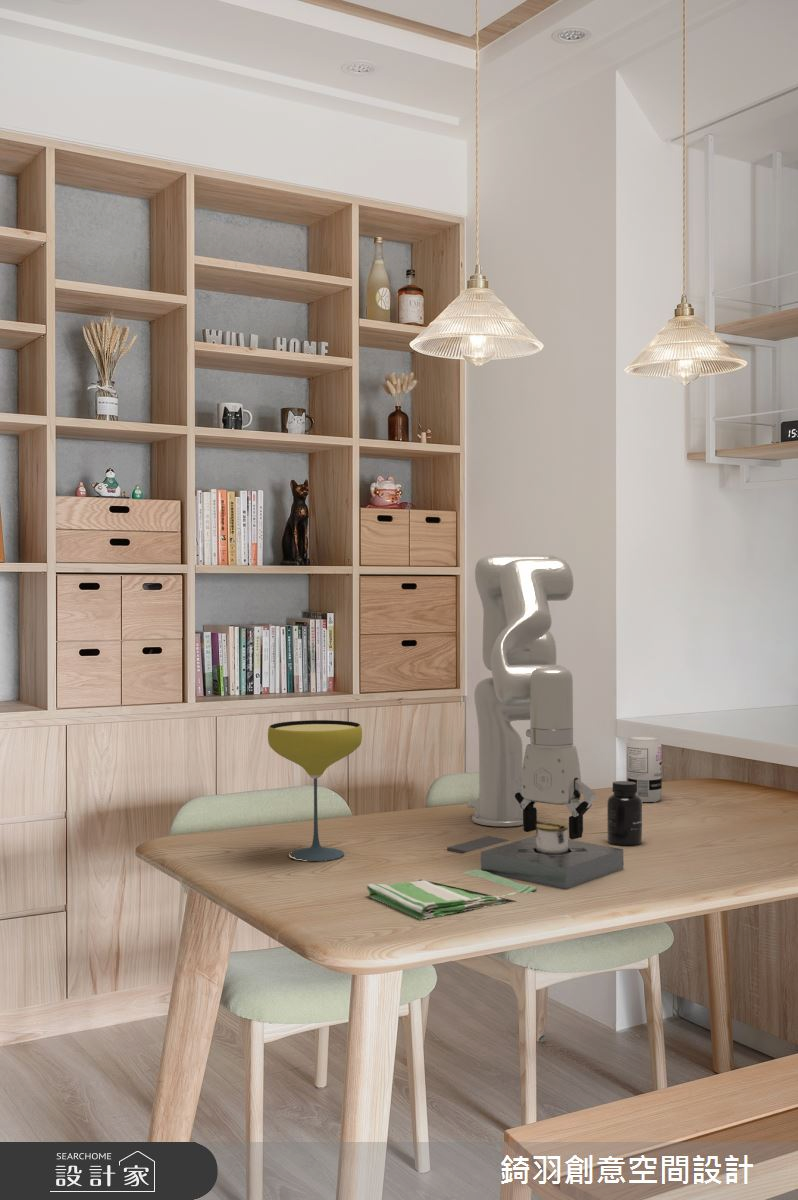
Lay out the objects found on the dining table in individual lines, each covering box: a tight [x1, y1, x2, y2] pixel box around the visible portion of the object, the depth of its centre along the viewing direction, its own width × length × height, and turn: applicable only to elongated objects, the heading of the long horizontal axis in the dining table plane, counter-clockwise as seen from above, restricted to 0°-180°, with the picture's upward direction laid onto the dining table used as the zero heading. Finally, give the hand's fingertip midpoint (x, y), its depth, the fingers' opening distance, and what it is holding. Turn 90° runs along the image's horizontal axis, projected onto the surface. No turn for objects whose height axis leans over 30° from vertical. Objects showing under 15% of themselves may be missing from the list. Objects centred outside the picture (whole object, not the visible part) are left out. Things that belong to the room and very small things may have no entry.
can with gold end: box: [535, 818, 569, 855], centre depth 198 cm, size 6×6×8 cm
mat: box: [446, 835, 510, 854], centre depth 218 cm, size 13×13×1 cm
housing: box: [480, 835, 624, 890], centre depth 198 cm, size 18×18×4 cm
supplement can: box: [625, 735, 663, 803], centre depth 268 cm, size 8×8×15 cm
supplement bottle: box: [606, 780, 643, 847], centre depth 223 cm, size 7×7×12 cm
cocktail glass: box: [267, 719, 363, 862], centre depth 214 cm, size 18×18×25 cm
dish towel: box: [366, 868, 537, 921], centre depth 185 cm, size 18×23×3 cm
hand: (552, 834), depth 198 cm, fingers open, 9 cm apart
